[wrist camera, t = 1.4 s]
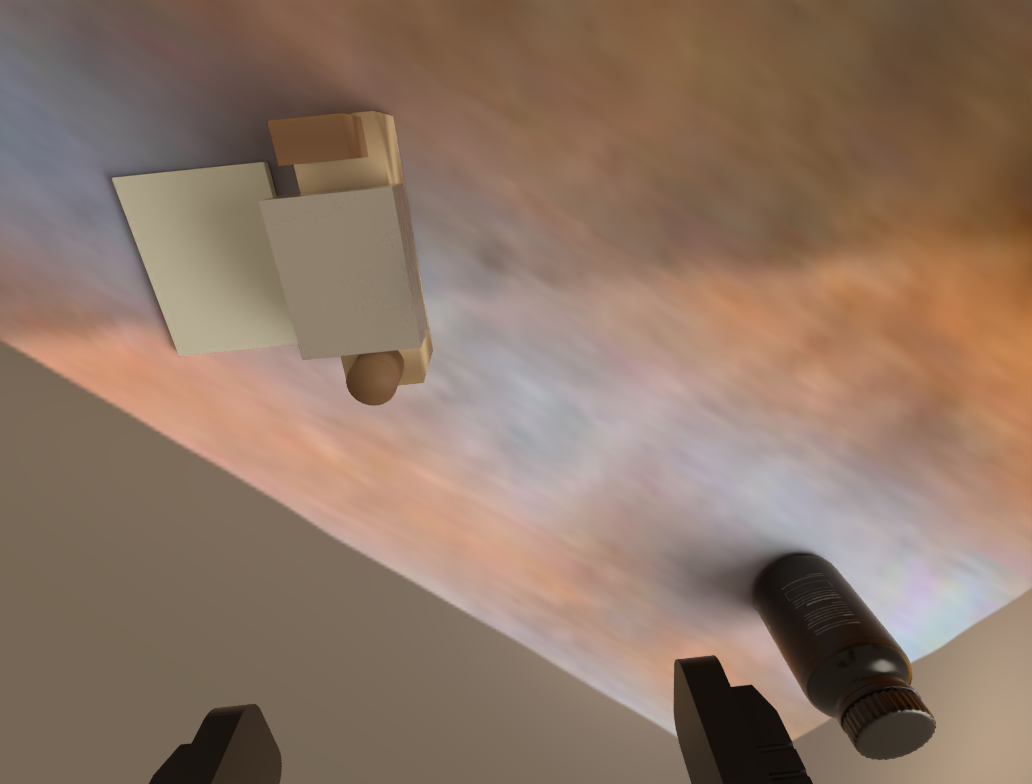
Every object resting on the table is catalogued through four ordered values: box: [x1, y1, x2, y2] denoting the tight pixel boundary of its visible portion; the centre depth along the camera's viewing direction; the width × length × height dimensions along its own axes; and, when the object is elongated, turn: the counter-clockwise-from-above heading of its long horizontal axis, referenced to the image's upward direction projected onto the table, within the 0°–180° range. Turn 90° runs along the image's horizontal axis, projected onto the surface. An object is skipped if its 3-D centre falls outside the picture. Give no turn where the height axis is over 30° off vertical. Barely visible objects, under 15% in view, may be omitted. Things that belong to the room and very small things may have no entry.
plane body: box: [267, 111, 433, 405], centre depth 27 cm, size 13×4×8 cm, turn 6°
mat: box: [112, 162, 298, 356], centre depth 31 cm, size 10×8×1 cm
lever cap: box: [259, 182, 428, 360], centre depth 25 cm, size 7×6×3 cm
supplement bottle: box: [753, 555, 936, 760], centre depth 37 cm, size 7×7×12 cm
